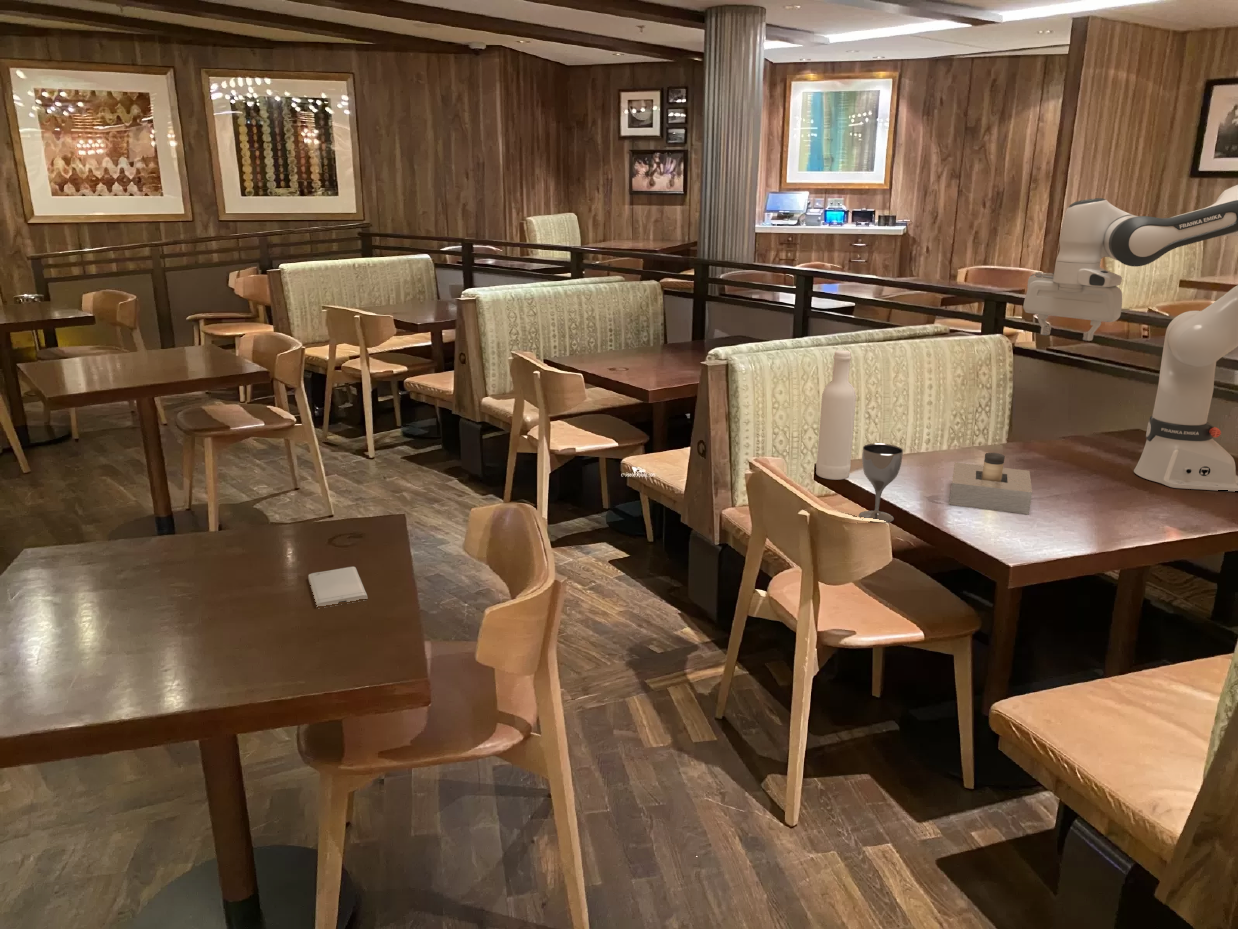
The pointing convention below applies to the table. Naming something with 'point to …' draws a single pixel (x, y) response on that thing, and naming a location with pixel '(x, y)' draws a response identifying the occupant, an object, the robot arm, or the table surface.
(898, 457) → the wine glass
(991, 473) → the plug
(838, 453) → the bottle
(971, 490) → the housing
